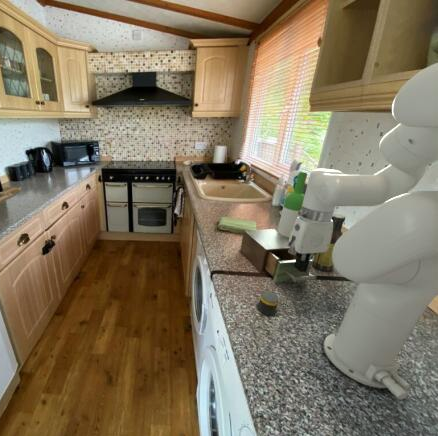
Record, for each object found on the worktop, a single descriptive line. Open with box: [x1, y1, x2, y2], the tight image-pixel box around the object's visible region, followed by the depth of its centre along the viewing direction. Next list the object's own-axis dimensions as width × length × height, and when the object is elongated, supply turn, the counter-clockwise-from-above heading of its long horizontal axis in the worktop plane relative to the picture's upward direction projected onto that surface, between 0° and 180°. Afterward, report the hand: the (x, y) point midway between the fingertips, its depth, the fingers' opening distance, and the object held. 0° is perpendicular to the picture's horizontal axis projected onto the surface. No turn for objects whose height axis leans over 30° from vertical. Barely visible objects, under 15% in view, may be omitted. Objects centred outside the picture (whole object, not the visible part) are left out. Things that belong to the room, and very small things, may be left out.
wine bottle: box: [276, 171, 308, 239], centre depth 101 cm, size 8×8×30 cm
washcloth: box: [217, 216, 258, 235], centre depth 117 cm, size 13×18×3 cm
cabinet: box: [240, 228, 290, 273], centre depth 90 cm, size 15×13×9 cm
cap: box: [257, 291, 280, 316], centre depth 67 cm, size 4×4×4 cm
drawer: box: [264, 250, 317, 283], centre depth 81 cm, size 18×11×7 cm, turn 9°
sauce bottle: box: [312, 213, 346, 271], centre depth 84 cm, size 6×6×20 cm
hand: (300, 269), depth 75 cm, fingers closed
